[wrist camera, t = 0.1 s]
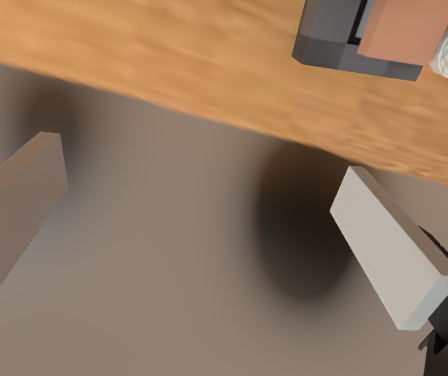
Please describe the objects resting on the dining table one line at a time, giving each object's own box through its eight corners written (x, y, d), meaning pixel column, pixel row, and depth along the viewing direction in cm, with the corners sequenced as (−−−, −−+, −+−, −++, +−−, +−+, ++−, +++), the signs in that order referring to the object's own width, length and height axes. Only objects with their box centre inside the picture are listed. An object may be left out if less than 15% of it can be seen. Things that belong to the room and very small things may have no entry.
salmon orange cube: (364, -24, 29) (397, -28, 24) (422, -13, 30) (466, -14, 25) (341, 46, 33) (365, 56, 28) (394, 55, 34) (427, 66, 29)
